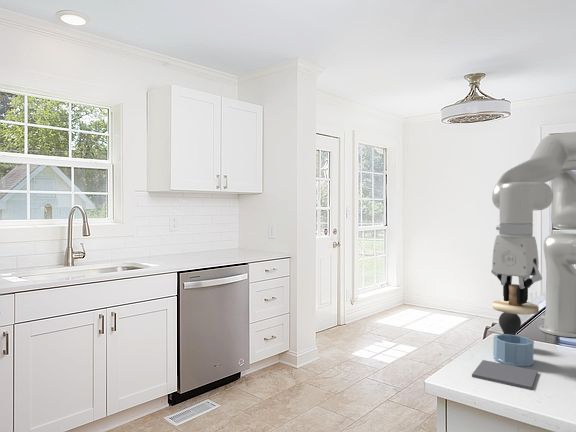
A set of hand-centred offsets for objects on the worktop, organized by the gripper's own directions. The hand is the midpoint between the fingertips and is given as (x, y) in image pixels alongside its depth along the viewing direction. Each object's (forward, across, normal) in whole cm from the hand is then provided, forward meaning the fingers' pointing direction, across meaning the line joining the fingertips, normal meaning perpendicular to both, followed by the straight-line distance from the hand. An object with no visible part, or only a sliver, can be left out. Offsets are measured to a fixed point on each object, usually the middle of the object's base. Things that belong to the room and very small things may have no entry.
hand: (515, 301), depth 111 cm
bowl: (+15, 0, -1) cm, 15 cm away
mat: (+15, +6, -12) cm, 20 cm away
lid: (+2, 0, 0) cm, 2 cm away
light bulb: (+16, -8, +9) cm, 20 cm away
